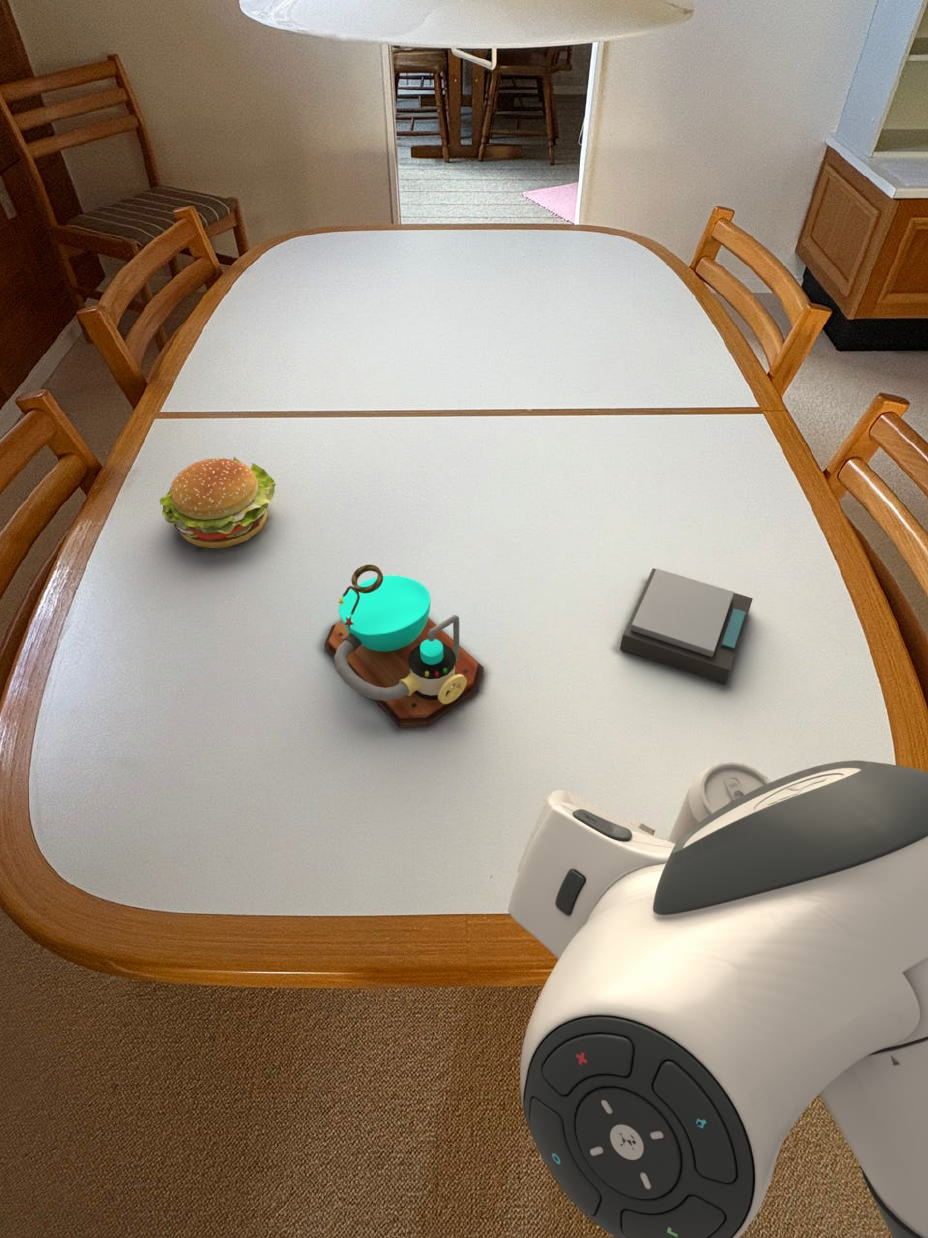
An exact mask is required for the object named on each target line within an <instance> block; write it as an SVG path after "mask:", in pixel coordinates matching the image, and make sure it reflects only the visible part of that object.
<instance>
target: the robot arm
mask: <svg viewBox="0 0 928 1238" xmlns="http://www.w3.org/2000/svg"><path fill="white" fill-rule="evenodd" d="M770 782H771V783H768V784H766V785H764V786H761V787H759V788H757V789H755V790H753V791H751V792H749V793H747V794H745V795H743V796H741V797H739V798H738V799H736V800H734V801H732V802H730V803H729V804H727V805H725V806H724V807H722V808H720V809H719V810H717V811H716V812H714V813H713V814H711V815H709V816H708V817H706V818H705V819H704V820H702V821H701V822H699V823H698V824H696V825H695V826H694V827H692V828H691V829H690V830H689V831H687V832H686V833H685V834H684V835H683V836H682V837H681V838H680V839H679V840H678V841H677V843H676V844H674V843H672V842H669V841H668V840H667V839H666V840H665V839H661V838H659V837H657V836H655V832H656V829H653V828H652V827H650V826H648V825H646V824H645V823H642V822H640V821H639V820H637V819H634V820H632V822H631V823H630V822H628V821H626V820H625V819H623V818H621V817H619V816H617V815H615V814H613V813H611V812H610V811H608V810H605V809H603V808H602V807H599V806H598V805H596V804H594V803H592V802H590V801H588V800H586V799H585V798H583V797H582V796H579V795H578V794H575V793H573V792H570V791H567V790H563V789H555V790H554V791H552V792H550V794H549V795H547V798H546V800H545V802H544V804H543V807H542V808H541V811H540V813H539V815H538V817H537V820H536V821H535V824H534V826H533V828H532V830H531V833H530V835H529V838H528V840H527V842H526V845H525V847H524V850H523V852H522V855H521V858H520V861H519V862H518V866H517V876H516V878H515V882H514V884H513V887H512V891H511V894H510V898H509V902H508V905H507V912H508V914H509V915H510V917H511V918H512V920H514V921H515V922H516V923H517V924H518V925H520V927H522V928H523V929H524V930H525V931H527V932H528V933H529V934H530V935H531V936H532V937H534V938H535V939H536V941H538V942H540V944H542V945H543V946H544V947H545V948H546V949H547V950H548V951H549V952H550V953H552V955H554V956H555V957H556V959H557V962H556V964H555V965H554V967H553V969H552V970H551V973H550V974H549V975H548V978H547V980H546V981H545V984H544V985H543V988H542V990H541V992H540V993H539V994H540V995H539V996H538V998H537V999H536V1003H535V1005H534V1007H533V1010H532V1013H531V1016H530V1019H529V1021H528V1023H527V1024H528V1025H527V1027H526V1031H525V1034H524V1038H523V1043H522V1047H521V1055H520V1063H519V1065H520V1066H519V1073H520V1074H519V1075H520V1076H519V1089H520V1100H521V1104H522V1105H521V1106H522V1111H523V1115H524V1118H525V1121H526V1124H527V1127H528V1131H529V1133H530V1135H531V1137H532V1140H533V1143H534V1144H535V1146H536V1148H537V1151H538V1153H539V1154H540V1156H541V1158H542V1160H543V1162H544V1164H545V1166H546V1167H547V1169H548V1170H549V1172H550V1174H551V1175H552V1177H553V1178H554V1180H555V1182H556V1183H557V1185H558V1186H559V1188H560V1189H561V1190H562V1191H563V1193H564V1194H565V1196H566V1197H568V1199H569V1200H570V1201H571V1202H572V1204H574V1206H575V1207H576V1208H577V1209H578V1210H579V1211H580V1212H581V1213H582V1214H584V1215H585V1216H586V1217H587V1218H588V1219H589V1220H591V1221H592V1222H593V1223H594V1224H596V1225H597V1226H599V1228H601V1229H602V1230H604V1231H605V1232H606V1233H607V1234H609V1235H610V1236H612V1237H614V1238H740V1237H741V1236H742V1235H743V1234H744V1233H745V1232H746V1230H747V1229H748V1228H749V1226H750V1225H751V1223H752V1222H753V1221H754V1219H755V1218H756V1216H757V1214H758V1212H759V1210H760V1209H761V1207H762V1205H763V1202H764V1200H765V1197H766V1195H767V1192H768V1190H769V1187H770V1184H771V1183H772V1182H771V1181H772V1178H773V1176H774V1172H775V1168H776V1165H777V1160H778V1156H779V1154H780V1150H781V1149H782V1145H783V1143H784V1142H785V1140H786V1138H787V1136H788V1135H789V1133H790V1132H791V1130H792V1128H793V1127H794V1125H795V1124H796V1123H797V1121H798V1119H799V1118H800V1117H801V1116H802V1114H804V1112H805V1111H806V1109H807V1108H808V1107H809V1106H810V1105H811V1104H812V1102H814V1101H815V1099H816V1098H817V1097H818V1096H819V1098H820V1100H821V1102H822V1103H823V1105H824V1106H825V1108H826V1110H827V1112H828V1113H829V1115H830V1117H831V1118H832V1120H833V1122H834V1123H835V1125H836V1127H837V1129H838V1130H839V1132H840V1134H841V1136H842V1137H843V1139H844V1140H845V1142H846V1144H847V1145H848V1147H849V1149H850V1151H851V1152H852V1154H853V1157H854V1158H855V1159H856V1161H857V1162H858V1165H859V1166H860V1170H861V1173H862V1177H863V1179H864V1181H865V1184H866V1186H867V1188H868V1190H869V1193H870V1194H871V1196H872V1198H873V1200H874V1203H875V1204H876V1207H877V1209H878V1212H880V1215H881V1217H882V1220H883V1221H884V1223H885V1225H886V1227H887V1229H888V1230H889V1233H890V1236H891V1237H892V1238H928V771H926V770H923V769H922V770H921V769H918V768H913V767H908V766H903V765H897V764H891V763H885V762H884V763H883V762H875V761H868V760H859V759H857V760H841V761H835V762H830V763H824V764H821V765H815V766H812V767H809V768H806V769H805V768H804V769H802V770H799V771H796V772H794V773H790V774H788V775H785V776H783V777H781V778H778V779H776V780H773V781H770Z"/></svg>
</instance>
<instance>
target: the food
mask: <svg viewBox="0 0 928 1238" xmlns="http://www.w3.org/2000/svg"><path fill="white" fill-rule="evenodd" d="M276 485H277V483H276V482H275V480H274V479H273V477H272V476H270V475H269V474H268V472H266V470H265V469H263V468H262V467H260V466H259V465H257V464H256V463H251V466H250V467H249V466H248V465H247V464H245V463H243V462H241V461H240V460H239V459H237V458H236V456H233V459H232V458H230V459H229V458H225V457H218V458H217V457H216V458H206V459H204V460H200V461H197V462H196V461H195V462H194V463H192V464H191V465H188V466H187V467H185V468H184V469H183V470H181V471H180V472H178V474H177V476H175V478H174V479H173V480H172V483H171V485H170V487H169V491H168V492H167V493H166V494H165V495H164V496H162V497H160V499H159V500H158V501H159V504H160V505H161V506H162V511H161V514H162V516H163V517H164V520H165V522H166V523H168V524H169V525H171V524H172V525H173V526H174V528H175V529H176V530H177V531H178V532H179V533H180V536H182V537H183V538H184V539H185V540H186V541H187V542H188V543H190V544H193V545H195V546H197V547H200V548H208V549H209V548H210V549H221V548H229V547H232V546H235V545H238V544H241V543H244V542H247V541H248V540H249V539H252V537H253V536H254V535H256V534H257V533H258V532H260V531H261V530H262V529H263V527H264V525H265V523H266V520H267V518H268V507H269V504H270V503H271V501H272V499H273V497H274V495H275V487H276Z"/></svg>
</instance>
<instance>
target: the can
mask: <svg viewBox="0 0 928 1238" xmlns="http://www.w3.org/2000/svg"><path fill="white" fill-rule="evenodd" d="M771 782H772V781H770V779H768V777H767V776H766V775H765V774H764V773H762V772H761V771H759V770H758V769H757V768H754V767H752V766H750V765H748V764H745V763H743V762H742V763H741V762H736V761H724V762H719V763H716V764H715V765H712V766H710V767H707V768H704V769H702V770H701V771H700V772H699V773H697V774H696V775H695V776H694V777H693V779H692V781H691V783H690V785H689V788H688V791H687V792H686V795H685V798H684V800H683V802H682V805H681V808H680V809H679V812H678V815H677V818H676V819H675V822H674V825H673V827H672V830H671V832H670V835H669V837H668V840H667V841H669V842H672V843H674V844H676V843H677V841H678V840H679V839H680V838H681V837H682V836H683V835H684V834H685V833H686V832H687V831H689V830H690V829H691V828H692V827H694V826H695V825H696V824H698V823H699V822H701V821H702V820H704V819H705V818H706V817H708V816H709V815H711V814H713V813H714V812H716V811H717V810H719V809H720V808H722V807H724V806H725V805H727V804H729V803H730V802H732V801H734V800H736V799H738V798H739V797H741V796H743V795H745V794H747V793H749V792H751V791H753V790H755V789H757V788H759V787H761V786H764V785H766V784H768V783H771Z"/></svg>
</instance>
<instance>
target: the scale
mask: <svg viewBox="0 0 928 1238" xmlns="http://www.w3.org/2000/svg"><path fill="white" fill-rule="evenodd" d="M753 599H754V598H753V597H750V596H747V595H743V594H740V593H737V592H735V591H732V590H729V589H726V588H723V587H719V586H717V585H712V584H710V583H707V582H703V581H700V580H697V579H692V578H690V577H686V576H683V575H679V574H676V573H673V572H669V571H667V570H663V569H661V568H654V567H652V569H651V571H650V572H649V575H648V577H647V580H646V582H645V584H644V586H643V589H642V591H641V592H640V595H639V597H638V599H637V602H636V604H635V607H634V609H633V611H632V614H631V615H630V617H629V620H628V622H627V624H626V627H625V629H624V631H623V633H622V636H621V641H620V645H619V650H621V651H624V652H626V653H629V654H633V655H635V656H639V657H640V658H641V657H642V658H645V659H647V660H650V661H652V662H653V661H654V662H656V663H658V664H659V663H660V664H662V665H664V666H665V665H666V666H667V667H671V668H674V669H677V670H680V671H683V672H686V673H689V674H691V675H694V676H698V677H700V678H704V679H706V680H709V681H712V682H715V683H719V684H721V685H726V682H727V680H728V678H729V675H730V673H731V670H732V667H733V664H734V660H735V657H736V654H737V652H738V647H739V644H740V641H741V637H742V636H743V632H744V628H745V625H746V622H747V618H748V615H749V612H750V609H751V606H752V602H753Z"/></svg>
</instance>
